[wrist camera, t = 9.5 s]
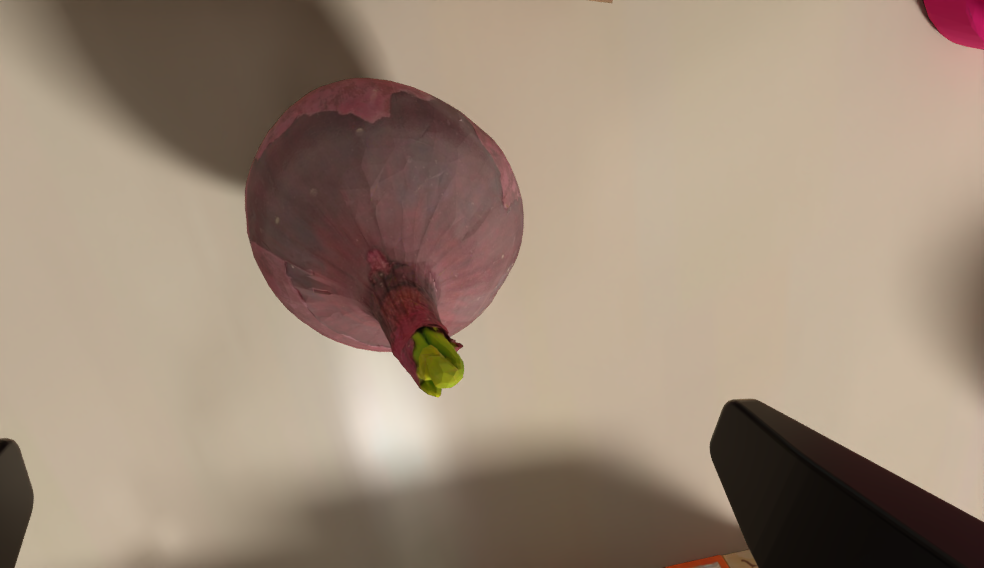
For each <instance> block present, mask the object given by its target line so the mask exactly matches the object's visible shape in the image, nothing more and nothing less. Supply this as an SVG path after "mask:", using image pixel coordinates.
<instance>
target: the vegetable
mask: <svg viewBox="0 0 984 568" xmlns="http://www.w3.org/2000/svg"><path fill="white" fill-rule="evenodd" d="M245 211H246V219H247V233H248V237H249V240H250V244H251V248H252V251H253V255H254V258H255V260H256V262H257V264H258V266H259V268H260V270H261V272H262V274H263V276H264V278H265V280H266V281H267V283H268V285H269V287H270V288H271V289H272V291H273V292H274V294H275V295H276V297H277V298H278V299H279V300H280V301H281V302H282V303H283V305H284V306H285V307H286V308H287V309H288V310H289V311H290V312H291V313H293V314H294V315H295V316H296V317H297V318H298V319H300V320H301V321H302V322H304V323H305V324H307V325H308V326H310V327H311V328H313V329H314V330H316V331H317V332H319V333H320V334H322V335H324V336H326V337H328V338H330V339H332V340H334V341H337V342H340V343H343V344H346V345H349V346H352V347H355V348H358V349H365V350H371V351H377V352H392V353H393V355H394V356H395V357H396V358H397V359H398V360H399V362H400V363H401V364H402V366H403V367H404V368H405V369H406V370H407V371H408V373H409V374H410V375H411V376H412V378H413V379H414V381H415V382H416V383H417V385H418V386H419V388H420V389H421V390H423V391H424V392H425V393H427V394H428V395H432V396H435V397H439V396H441V390H442V389H441V388H451V387H453V386H454V385H456V384H457V383H458V382H459V381H460V380H461V379H462V378H463V373H464V364H463V361H462V359H461V358H460V356H459V355H458V354H457V351H458V350H459V349H460V348H462V347H463V345H462V344H461V343H456V342H455V340H453V339H451V338H450V336H452V335H454V334H456V333H457V332H459V331H460V330H462V329H463V328H465V327H467V326H468V325H469V324H470V323H472V322H473V321H474V320H475V319H476V318H477V317H478V316H480V315H481V314H482V313H483V311H484V310H485V309H486V308H487V307H488V306H489V304H490V303H491V302H492V300H493V299H494V297H495V295H496V294H497V292H498V290H499V289H500V287H501V286H502V284H503V283H504V281H505V279H506V277H507V276H508V274H509V272H510V270H511V268H512V267H513V265H514V263H515V260H516V258H517V256H518V253H519V249H520V246H521V242H522V235H523V219H524V214H523V204H522V198H521V195H520V191H519V187H518V184H517V181H516V178H515V176H514V174H513V171H512V169H511V167H510V164H509V162H508V161H507V159H506V157H505V155H504V154H503V152H502V150H501V149H500V148H499V146H498V145H497V144H496V143H495V141H494V140H493V139H492V138H491V137H490V136H489V135H487V134H486V133H485V132H484V131H483V130H482V129H480V128H479V127H478V126H477V125H476V124H475V123H473V122H472V121H471V120H470V119H469V118H467V117H466V116H465V115H464V114H463V113H461V112H460V111H459V110H457V109H455V108H454V107H452V106H450V105H449V104H447V103H445V102H443V101H441V100H440V99H438V98H436V97H434V96H432V95H430V94H428V93H425V92H423V91H421V90H418V89H416V88H414V87H411V86H407V85H404V84H400V83H396V82H393V81H388V80H379V79H371V78H352V79H346V80H341V81H338V82H334V83H331V84H328V85H324V86H321V87H319V88H317V89H315V90H313V91H311V92H309V93H308V94H306V95H305V96H304V97H302V98H301V99H300V100H298V101H297V102H296V103H294V104H293V105H292V106H290V107H289V108H288V109H287V110H286V111H285V112H284V113H283V115H282V116H281V117H280V118H279V119H278V121H277V122H276V123H275V124H274V125H273V127H272V128H271V129H270V130H269V131H268V133H267V135H266V136H265V138H264V140H263V142H262V143H261V145H260V147H259V149H258V151H257V153H256V156H255V158H254V160H253V162H252V165H251V168H250V171H249V175H248V178H247V181H246V187H245Z"/></svg>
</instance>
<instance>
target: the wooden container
mask: <svg viewBox="0 0 984 568" xmlns="http://www.w3.org/2000/svg"><path fill="white" fill-rule="evenodd" d="M590 1H598V2H607V3H612V1H613V0H590Z"/></svg>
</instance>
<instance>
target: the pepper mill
mask: <svg viewBox="0 0 984 568" xmlns="http://www.w3.org/2000/svg"><path fill="white" fill-rule="evenodd" d="M924 4H925V7H926V10H927V14H928V17H929V19H930V20H931V21H932V23H933V24H934V25H935V27H936V28H937V30H938V31H939V32H940V34H942V35H943V36H944V37H946V38H947V39H948V40H950V41H952V42H954V43H956V44H960V45H963V46H966V47H972V48H977V49H983V50H984V0H924Z"/></svg>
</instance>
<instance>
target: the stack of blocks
mask: <svg viewBox="0 0 984 568" xmlns="http://www.w3.org/2000/svg"><path fill="white" fill-rule="evenodd" d="M665 568H758V566H757V564H756V562H755V560H754V558H753V556H752V554H751V552H750V550H745V551H740V552H736V553H731V554H727V555H717V556H713V557H708V558H704V559H699V560H695V561H690V562H686V563H681V564H677V565H672V566H668V567H665Z"/></svg>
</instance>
